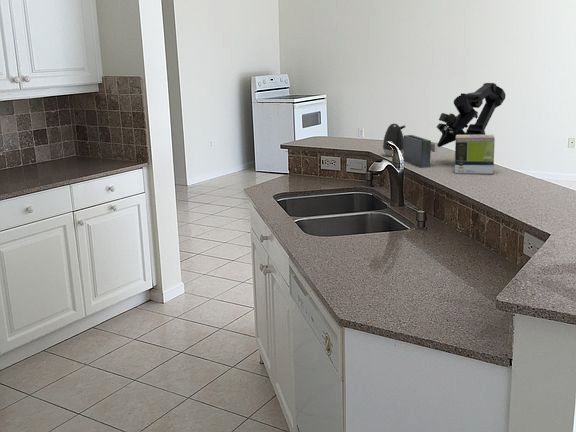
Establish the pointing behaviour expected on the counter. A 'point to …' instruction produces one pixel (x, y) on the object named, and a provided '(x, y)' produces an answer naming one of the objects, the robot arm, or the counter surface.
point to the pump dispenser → (393, 138)
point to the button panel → (417, 150)
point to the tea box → (474, 154)
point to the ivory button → (434, 146)
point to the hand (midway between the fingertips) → (438, 146)
